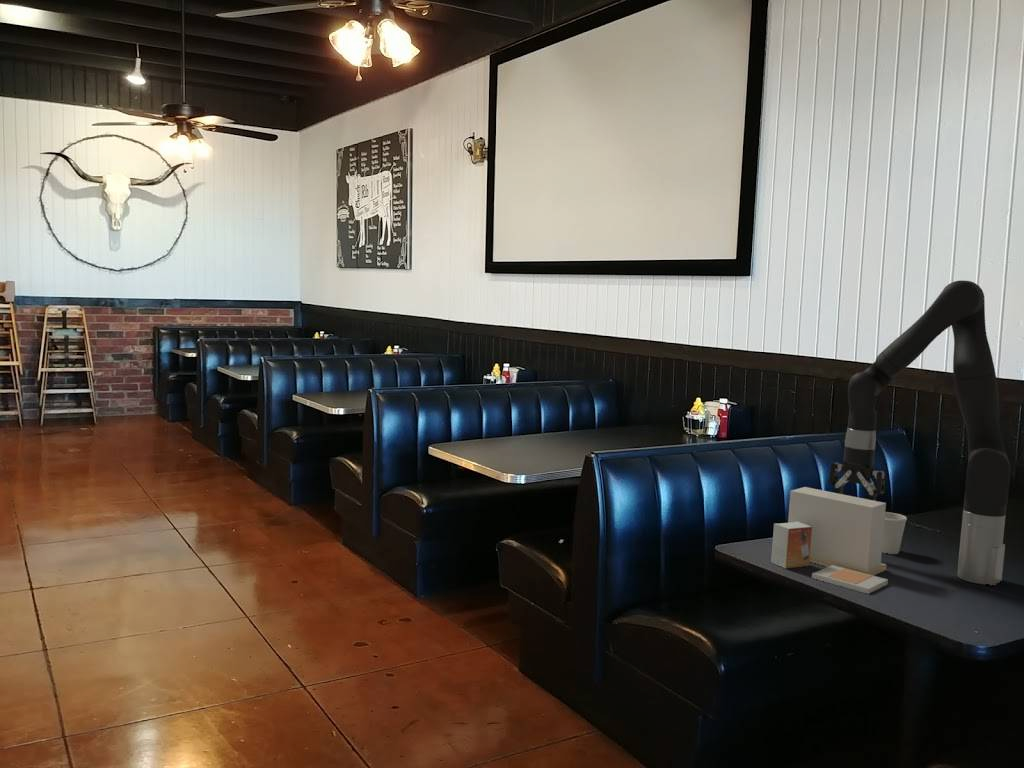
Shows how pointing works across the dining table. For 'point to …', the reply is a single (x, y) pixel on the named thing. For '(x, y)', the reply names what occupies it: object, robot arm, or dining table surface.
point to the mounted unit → (841, 528)
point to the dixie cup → (893, 532)
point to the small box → (791, 544)
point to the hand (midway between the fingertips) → (854, 504)
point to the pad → (850, 579)
